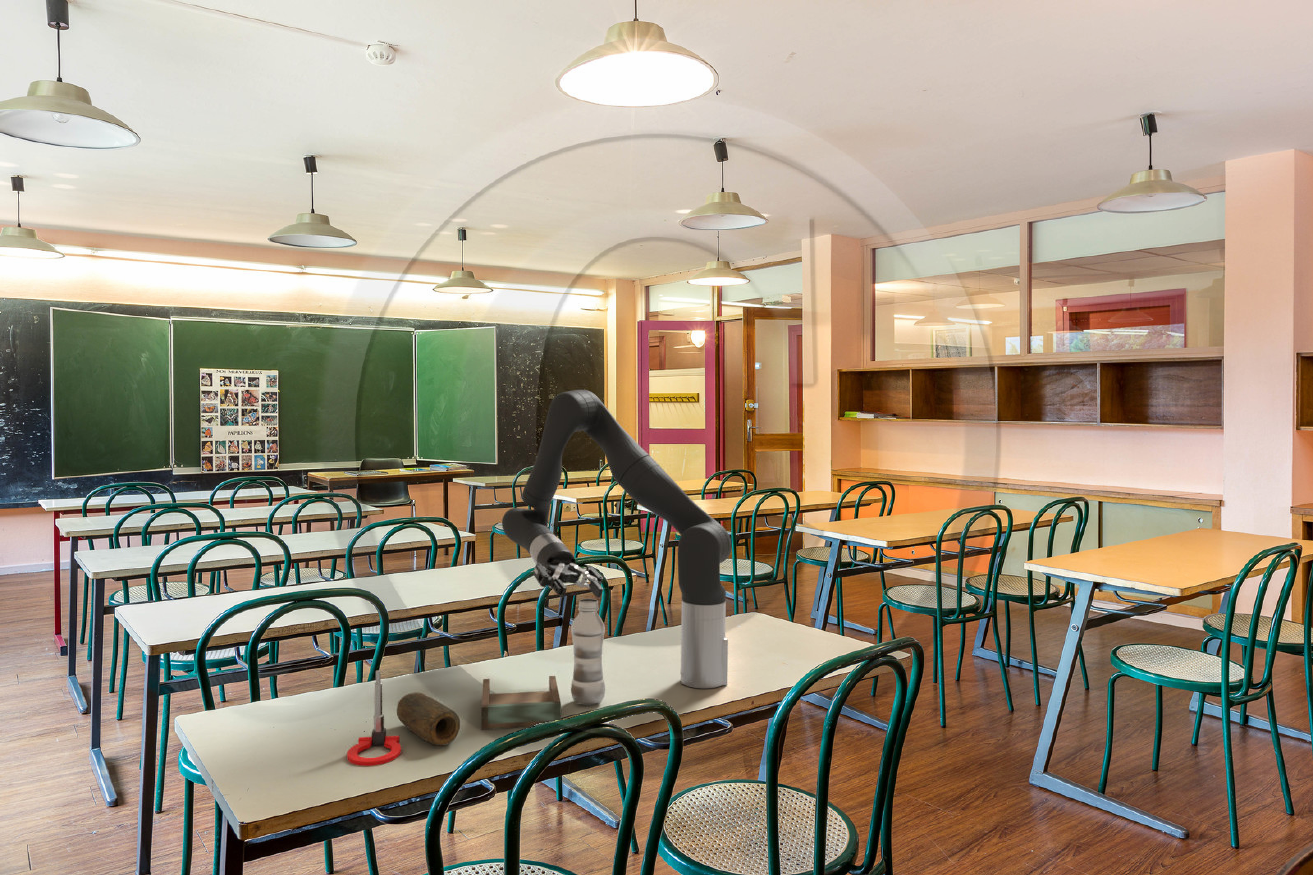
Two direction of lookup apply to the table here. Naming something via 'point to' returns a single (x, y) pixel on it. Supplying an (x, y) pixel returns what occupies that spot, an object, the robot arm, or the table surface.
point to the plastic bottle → (588, 654)
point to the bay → (519, 707)
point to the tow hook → (376, 736)
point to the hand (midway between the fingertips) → (582, 593)
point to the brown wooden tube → (428, 718)
